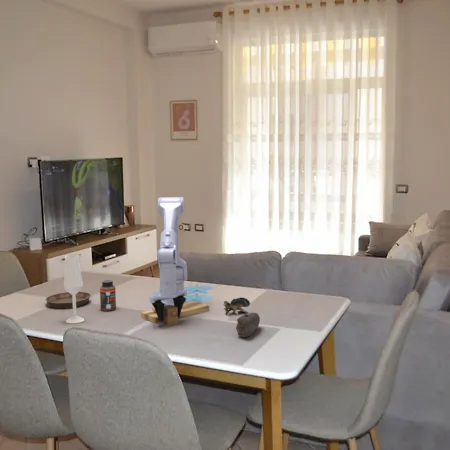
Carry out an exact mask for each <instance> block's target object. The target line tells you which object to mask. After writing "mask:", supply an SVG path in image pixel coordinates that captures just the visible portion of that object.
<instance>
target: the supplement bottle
mask: <svg viewBox="0 0 450 450" xmlns="http://www.w3.org/2000/svg"><path fill="white" fill-rule="evenodd" d="M99 295H100V296H99V298H100V299H99V301H100V303H99V304H100V305H99V306H100V310H101V311H103V312H111V310H112V311H115V310H114V309H117V299H116V296H117V295H116V287H115V285H114V283H113V280H111V279H106V280H102V281H101V286H100V287H99Z"/></svg>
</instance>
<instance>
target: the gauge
mask: <svg viewBox="0 0 450 450" xmlns="http://www.w3.org/2000/svg"><path fill="white" fill-rule="evenodd" d="M151 310H152V311H154V312H156V310H155V308H154V306H152V307H151ZM160 324H162V325H165V326H167V327H169V326H174V325H179V318H178V307H175V306H172V305H164V311H163V321H161V322H160Z"/></svg>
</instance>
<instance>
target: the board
mask: <svg viewBox="0 0 450 450" xmlns="http://www.w3.org/2000/svg"><path fill="white" fill-rule="evenodd" d="M172 306H174V305H172ZM209 311H210V305H208V304H205V303H202V302H199V301H196V300H191V301H190V300H189V301H186V302H185V303H184V304H183V306H182V309H181V313H180V317H178V319H181V318H185V317H189V316H193V315H198V314H202V313H205V312H209ZM140 318H141V319H144V320H145V321H149V322H151V323H153V324H156V325H157V324H161V321H159V320H158V316H157V313H156V312H154V311H152V309H150V310H145V311H141V312H140Z"/></svg>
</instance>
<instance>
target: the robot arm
mask: <svg viewBox="0 0 450 450" xmlns="http://www.w3.org/2000/svg"><path fill="white" fill-rule="evenodd" d="M157 211H158V213H159V214H160V215H159V216H161V217H162V218H163V228H164V229H163V231H162V232H161V233H160V240H159V241H160V243H159V249H158V250H157V262H158V264H157V265H158V269H159V290H160V291H159V293H156V294H155V295H151V296H149V303H151V305H152V307H154V308H155V310H156V313H157V316H158V320H159V321H163V311H164V306H165V305H174V306H175V307H178V317H180V313H181V309H182V306H183V304H184V303H185V302H187V301H186V300H187V299H186V297H187V296H188V290H186V289H185V282H186V281H187V280H188V266H187V261H186V260H184V258H181V257H180V232H179V231H180V229H179V228H180V227H179V225H180V224H179V222H180V218H182V217H184V216H185V198H184V197H183V196H174V197H173V196H172V197H170V196H169V197H167V196H166V197H161V196H159V198H157Z"/></svg>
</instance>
